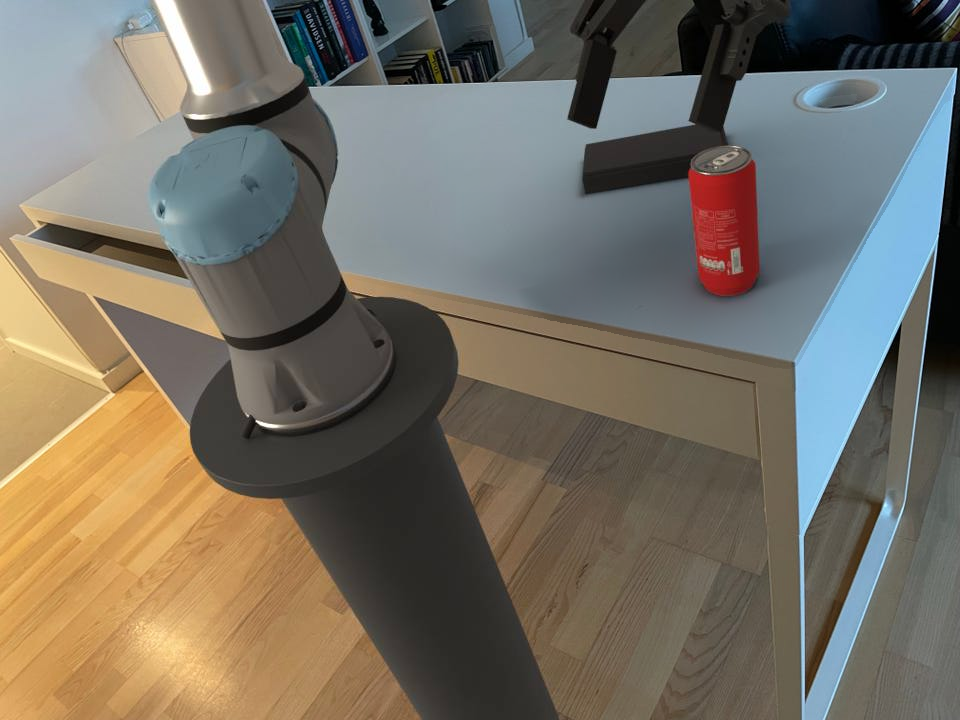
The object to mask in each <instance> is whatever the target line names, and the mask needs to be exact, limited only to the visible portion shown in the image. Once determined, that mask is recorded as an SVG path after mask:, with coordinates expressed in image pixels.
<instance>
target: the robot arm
mask: <svg viewBox="0 0 960 720" xmlns="http://www.w3.org/2000/svg"><path fill="white" fill-rule="evenodd" d="M646 1H647V0H584V1H583V2H582V4H581V6H580V7H579V10H578V12H577V13H576V16H575V17H574V19H573V21H572V23H571V24H570V27H569V28H570V29H569V30H570V33H571V34H572V35H574V36H576V37H577V38H579V39H581V40H582V42H583V47H582V51H581V53H580V54H581V55H580V58H579V63H578V66H577V70H576V74H575V82H576V83H575V87H574V91H573V95H572V99H571V103H570V106H569V109H568V114H567V118H566V120H568V121H570V122H572V123H575V124H578V125H580V126H583V127H585V128H589V129H591V130H593V129H594V130H596V129H597V128H598V124H599V121H600V116H601V114H602V109H603V105H604V102H605V97H606V94H607V90H608V86H609V82H610V79H611V75H612V72H613V67H614V63H615V60H616V56H617V53H618V50H617V49H616V47H615V45H614V43H615V41H616V40H617V39H618V38H619V36H620V35H621V34H622V33H623V31H624V30H625V28H626V27H627V26H628V25H629V23H630V22H631V21H632V19H633V18H634V17H635V16H636V14H637V13H638V12H639V10H640V9H641V8H642V6H643V5H644V4H645V2H646ZM719 1H720V3H721V6H722V8H723V11H724V14H722V15H721V16H720V17H721V18H722V19H723V20H725V21H727V22H728V23H730V26H729V25H727V24H726V23H721V24H715V26H714V29H713V33H712V36H711V40H710V44H709V47H708V51H707V54H706V58H705V62H704V65H703V68H702V71H701V75H700V78H699V79H700V80H699V82H698V86H697V89H696V93H695V97H694V101H693V103H692V106H691V107H692V108H691V111H690V115H689V117H688V122H689V123H692V124H693V125H695V124H696V125H698V126H701V127H703V128H705V129H707V130H710V131H712V132H722V130H723V126H725V123H726V120H727V116H728V112H729V109H730V106H731V101H732V98H733V94H734V91H735V88H736V85H737V82H738V81H739V82H741V81H742V80H743V78H744V77H745V75H746V73H747V70H748V67H749V63H750V58H751V56H752V52H753V49H754V46H755V42H756V39H757V36H758V35H760V34H761V33H762V32H763V30H764V28H765V27H767V26H769V25H771V24H773V23H775V24H778V25H779V24H783V23H784V22H786V21H787V19H789V17H790V15H791V3H790V0H719ZM149 2H150V3H151V5H152V8H153V10H154V13H155V14H156V15H155V16H156V18H157V19H158V22H159V23H160V26H161V29H162V30H163V32H164V35H165V38H166V39H167V42H168V44H169V46H170V49H171V51H172V53H173V55H174V57H175V60H176V62H177V64H178V67H179V70H180V71H181V73H182V76H183V78H184V80H185V82H186V91H185V93H184V95H183V97H182V100H181V103H180V104H179V111H180V114H181V116H182V118H183V121H185V125H186V127H187V129H188V131H189V133H190V135H191V138H192V141H190V142H189V143H187V144H185V145H184V146H182V147H180V150H179V151H180V152H179V153H178V154H174V155H170V156H169V157H168V158H167V159H166V160H165V161H164V162H163V163H162V164H161V165H160V166H159V167H158V169H157V170H156V171H155V173H154V175H153V177H152V179H151V181H150V184H149V186H148V190H147V203H148V207H149V211H150V213H151V216H152V218H153V219H154V221H155V223H156V225H157V227H158V233H159V236H160V237H161V239H162V241H163V243H164V244H165V245H166V247H167V249H168V250H169V251H170V252H171V253H172V254H173V256H174V257H175V259H176V261H177V262H178V265H179V266H180V268H181V269H182V271H183V272H184V274H185V276H186V277H187V279H188V281H189V283H190V284H191V286H192V288H193V289H194V291H195V293H196V294H197V296H198V297H199V299H200V301H201V302H202V304H203V306H204V308H205V309H206V312H208V314H209V316H210V318H211V320H212V321H213V322H214V324H215V326H216V328H217V329H218V331H219V332H220V334H221V335H222V337H223V339H224V341H225V343H226V344H227V347H228V352H229V356H230V359H231V363H232V369H233V375H234V381H235V387H236V392H237V397H238V400H239V403H240V406H241V408H242V410H243V412H244V413H245V415H246V416H247V418H248V419H247V421H246V423H245V426H244V428H243V430H242V432H241V434H240V436H242V437H244V438H246V439H249V438H250V436H251V433H252V431H253V429H254V427H255V428H257V429H258V430H260V431H262V432H264V433H267V434H270V435H275V436H300V435H306V434H311V433H315V432H318V431H322V430H325V429H327V428H330V427H333V426H335V425H337V424H339V423H341V422H343V421H345V420H347V419H349V418H350V417H352V416H354V415H355V414H357V413H358V412H360V411H361V410H363V409H364V408H365V407H366V406H368V405H369V404H370V403H371V402H372V401H373V400H375V399H376V397H377V396H378V395H379V394H380V393H381V392H382V391H383V390H384V388H385V387H386V386H387V384H388V383H389V381H390V379H391V377H392V375H393V373H394V370H395V367H396V351H395V348H394V346H393V343H392V341H391V339H390V336H389V335H388V333H387V332H386V330H385V329H384V327H383V326H382V325H381V324H380V322H379V321H378V320H377V319H376V318H375V317H374V316H376V315H375V313H374V312H373V311H372V310H370V309H367V308H365V307H364V306H363V305H362V304H361V303H360V302H359V301H358V300H357V298H358V297H356V296H355V295H354V294H353V293H352V292H351V291H350V289H348V286H347V284H346V283H345V282H346V281H345V280H344V278H343V276H342V273H341V271H340V269H339V266H338V264H337V262H336V259H335V257H334V255H333V253H332V251H331V248H330V246H329V244H328V241H327V238H326V237H325V233H324V229H323V224H324V219H325V216H326V212H327V206H328V202H329V198H330V193H331V189H332V185H333V184H334V181H335V179H336V175H337V171H338V164H339V159H338V156H339V149H338V142H337V141H338V140H337V137H336V133H335V129H334V126H333V124H332V122H331V120H330V118H329V116H328V114H327V113H326V112H325V110H324V109H323V107H322V106H321V105H320V104H319V103H318V101H316V100H315V99H314V98H313V95H312V93H311V90H310V87H309V84H308V82H307V78H306V76H305V74H304V71H303V69H302V67H300V66H299V65H297V64H295V63H293V62H291V61H290V60H287V59H285V58H283V56H281V55H280V53H279V49H278V47H277V44H276V40H275V38H274V35H273V34H272V31H271V28H270V24H269V22H268V19H267V16H266V14H265V11H264V8H263V5H262V2H261V0H149ZM605 29H606V30H605ZM373 315H374V316H373ZM376 317H377V316H376Z"/></svg>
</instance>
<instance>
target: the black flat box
mask: <svg viewBox="0 0 960 720" xmlns="http://www.w3.org/2000/svg"><path fill="white" fill-rule="evenodd" d="M724 126H725V125H724ZM724 126H723V130H722V132H712V131H710V130H707V129H705V128H703V127H701V126H698V125H696V124H691V125H684V126H680V127H674V128H667V129H663V130H658V131H652V132H646V133H641V134H635V135H630V136H625V137H619V138H613V139H608V140H602V141H597V142H592V143H586V144H585V147H584V153H583V154H584V155H583V164H582V175H581V179H582V184H583V185H582V186H583V188H584V189H583V190H584V194H592V193H598V192H605V191H610V190H616V189H623V188H628V187H634V186H640V185H646V184H653V183H659V182H665V181H671V180H677V179H683V178H689V176H688V173H689V170H690V168H691V161H692V159H693V158H694V157H695V156H696V155H697V154H699V153H700V152H702V151H705V150H707V149H710V148H714V147H718V146H729V144H728V139H727V135H726V131H725V127H724Z"/></svg>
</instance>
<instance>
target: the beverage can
mask: <svg viewBox="0 0 960 720" xmlns="http://www.w3.org/2000/svg"><path fill="white" fill-rule="evenodd" d="M756 167H757V165H756V162H755V160H754V158H753V154H752V152H751V151H750V150H749V149H747V148H746V147H743V146H739V145H728V146H718V147H714V148H710V149H707V150H705V151H702V152H700V153H699V154H697V155H696V156H695V157H694V158H693V159H692V161H691V168H690V170H689V173H688V176H689V177H688V185H689V186H688V187H689V194H690V195H689V196H690V204H691V205H690V206H691V215H692V226H693V235H694V243H695V244H694V245H695V255H696V256H695V257H696V267H697V276H698V278H699V280H700V281H701V283H702V284H703V287H704V288H705V290H706V291H707V292H708V293H710V294H712V295H715V296H718V297H719V296H721V297H734V296H738V295H742V294H745V293H746V292H748V291H749V290H751V289H752V288H753V287H754V285H755V284H756V279H757V277H758V276H759V274H760V271H761V267H760V245H759V240H760V239H759V219H758V217H759V216H758V215H759V214H758V190H757V169H756Z"/></svg>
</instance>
